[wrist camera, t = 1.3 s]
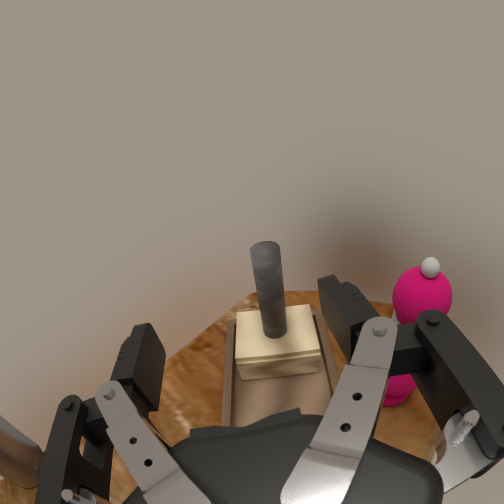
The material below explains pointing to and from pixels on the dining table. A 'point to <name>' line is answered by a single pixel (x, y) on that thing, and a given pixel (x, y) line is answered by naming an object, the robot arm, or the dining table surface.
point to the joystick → (274, 325)
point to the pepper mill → (416, 312)
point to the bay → (277, 385)
